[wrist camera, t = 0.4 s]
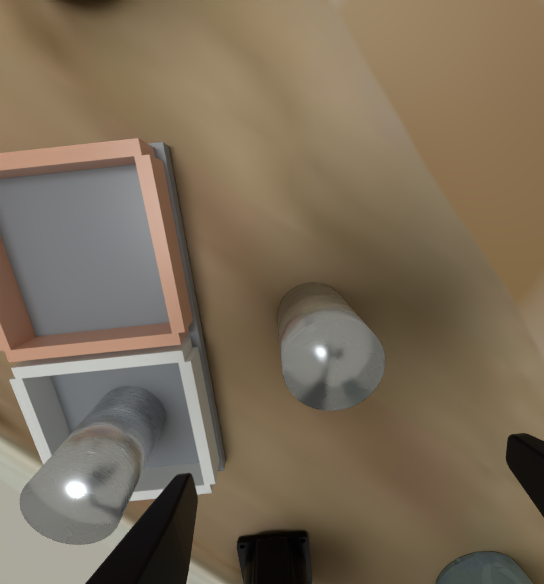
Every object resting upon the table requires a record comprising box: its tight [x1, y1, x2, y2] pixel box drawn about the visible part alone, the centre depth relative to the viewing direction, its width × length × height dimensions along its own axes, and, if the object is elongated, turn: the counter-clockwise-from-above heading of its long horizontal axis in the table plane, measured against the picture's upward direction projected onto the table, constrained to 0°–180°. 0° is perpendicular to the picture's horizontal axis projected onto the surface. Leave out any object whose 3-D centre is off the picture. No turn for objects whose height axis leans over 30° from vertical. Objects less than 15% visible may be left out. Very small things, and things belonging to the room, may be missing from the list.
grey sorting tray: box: [0, 138, 226, 501], centre depth 19 cm, size 24×12×3 cm, turn 6°
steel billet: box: [277, 283, 385, 411], centre depth 17 cm, size 5×5×7 cm
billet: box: [20, 386, 166, 545], centre depth 18 cm, size 5×5×7 cm
